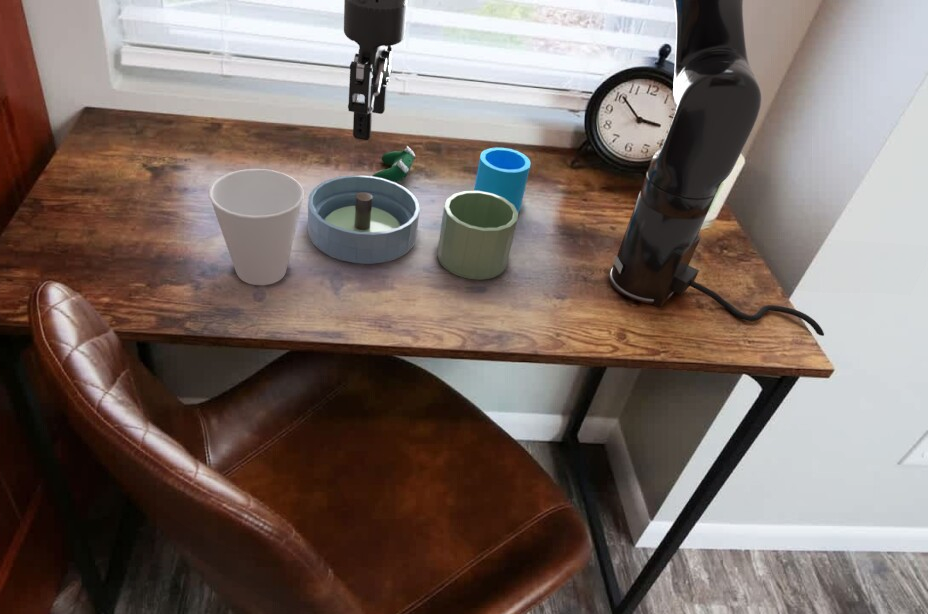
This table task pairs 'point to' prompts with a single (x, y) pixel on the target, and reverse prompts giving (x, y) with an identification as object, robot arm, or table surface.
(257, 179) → the cup
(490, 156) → the mug
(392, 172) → the gaming controller
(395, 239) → the bowl
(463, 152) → the table surface
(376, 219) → the lid
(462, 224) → the canister
